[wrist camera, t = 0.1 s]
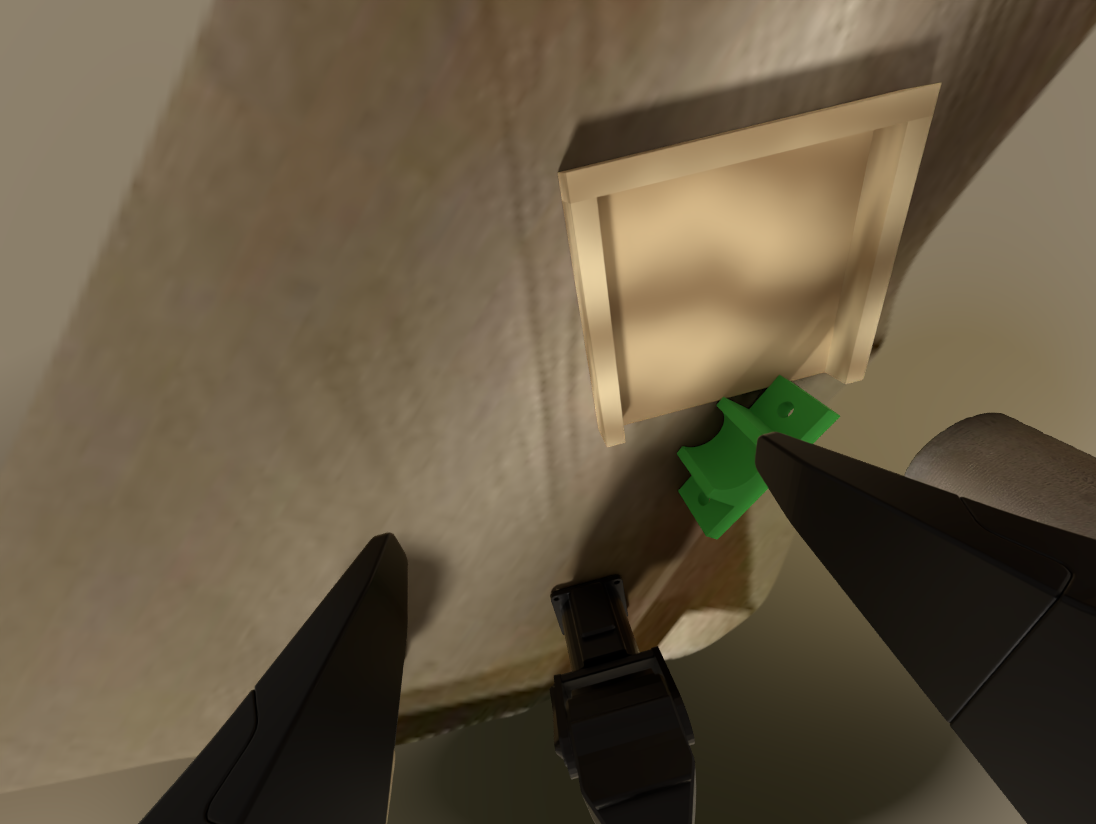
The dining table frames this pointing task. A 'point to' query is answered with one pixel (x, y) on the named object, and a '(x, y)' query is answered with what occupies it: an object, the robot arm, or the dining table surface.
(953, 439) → the pillar candle
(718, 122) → the dining table surface
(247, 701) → the robot arm
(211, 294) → the dining table surface
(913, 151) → the corral
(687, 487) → the pipe clamp
